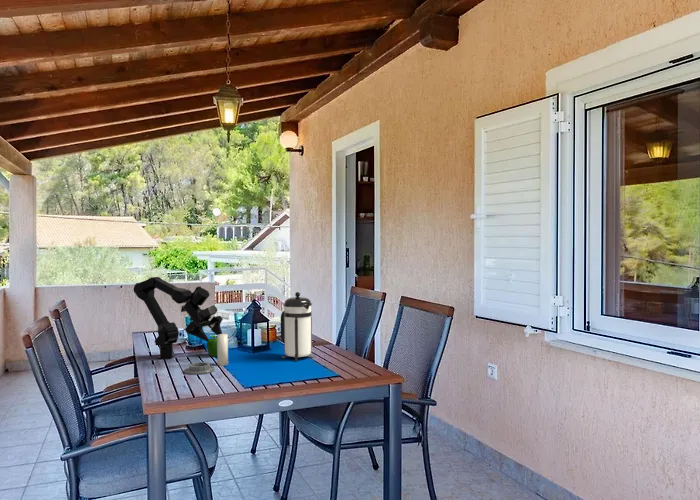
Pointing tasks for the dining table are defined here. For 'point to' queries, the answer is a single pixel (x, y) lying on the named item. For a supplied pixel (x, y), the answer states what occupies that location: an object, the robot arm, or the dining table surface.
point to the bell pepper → (212, 346)
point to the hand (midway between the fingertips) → (215, 338)
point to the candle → (222, 349)
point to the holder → (199, 368)
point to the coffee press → (297, 327)
